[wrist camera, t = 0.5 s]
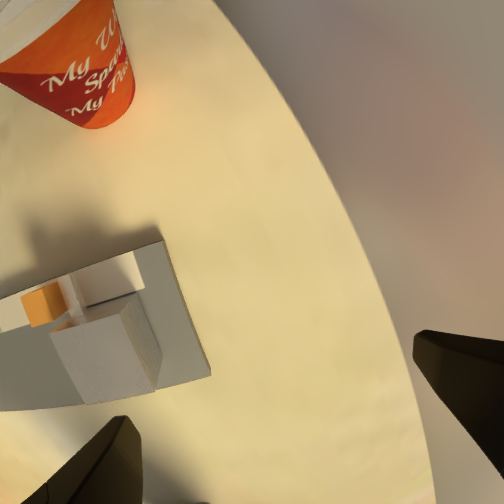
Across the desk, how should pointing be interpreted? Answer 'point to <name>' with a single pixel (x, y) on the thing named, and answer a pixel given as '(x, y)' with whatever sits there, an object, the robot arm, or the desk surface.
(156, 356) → the grey faceted block
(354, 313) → the desk surface
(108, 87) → the paper cup
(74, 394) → the gauge board
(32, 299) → the block
